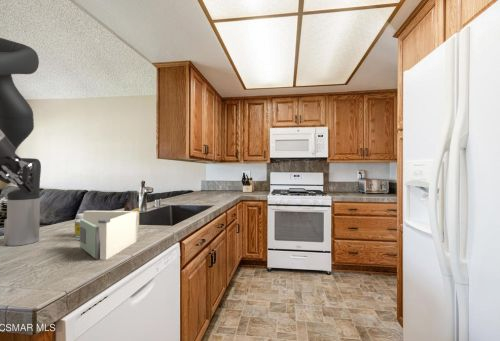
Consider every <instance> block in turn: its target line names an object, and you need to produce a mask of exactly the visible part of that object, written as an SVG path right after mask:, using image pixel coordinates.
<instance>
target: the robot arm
mask: <svg viewBox="0 0 500 341" xmlns="http://www.w3.org/2000/svg"><path fill="white" fill-rule="evenodd" d="M39 60H40V59H39V55H38V53H37V52H36V50H35V49H34V48H32V47H31V46H29V45H27V44H24V43H20V42H16V41H14V40H9V39H6V38H3V37H0V181H1V182H3V183H4V184H7V185H8V184H13V185H14V186H17V188H19V189H15V190H12V191H11V190H10V191H9V192H7V195H6V196H7V198H6V219H4V222H3V223H4V225H3V226H4V227H3V228H4V229H3V230H4V231H3V234H4V236H3V244H4V245H7V246H11V247H13V246H23V245H24V246H26V245H30V244H34V243H37V242H38V241H40V212H41V211H40V208H41V207H40V206H41V205H40V203H41V202H40V201H41V200H40V198H41V194H40V193H41V192H40V186H41V185H40V184H41V175H42V174H41V173H42V172H41V171H42V163H41V161H40V160H39V159H38V158H34V157H33V158H28V157H20V156H18V155H17V153H16V151H17V150H18V148H19V147H20V146H21V144H22V143H23V142H25V140H26V139H27V138H28V137H29V136H30V135H31V134H32V132H34V129H35V128H34V127H35V125H34V124H35V123H34V122H35V121H34V120H35V119H34V111H33V108H32V107H31V105H30V104H29V103H28V101H27V100H26V99H25V97H24V96H23V94H22V93H21V91H19V89H18V88H17V87H16V84H15V82H14V80H13V76H12V75H32V74H34V73H35V72H36V71H37V70H38V68H39V64H40V61H39Z"/></svg>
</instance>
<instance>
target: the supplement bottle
mask: <svg viewBox="0 0 500 341" xmlns="http://www.w3.org/2000/svg"><path fill="white" fill-rule="evenodd" d="M81 219H83V213H77V214H76V219H75V220H74V237H75V238H78V239H80V220H81Z"/></svg>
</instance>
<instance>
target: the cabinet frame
mask: <svg viewBox="0 0 500 341" xmlns="http://www.w3.org/2000/svg"><path fill="white" fill-rule="evenodd" d="M83 219H84V220H86V221H88V222H90V223H92V224H94V225H96V226H98V227H99V242H100V243H99V260H103V261H105V260H106V261H107V260H109V259H110V258H111V257H113V256H115V255H117V254H118V253H120V252H122V251H123V250H124V249H127V248H128V247H130V246H131V245H132V244H135V243H137V242H138V241H139V231H138V211H124V210H84V211H83Z"/></svg>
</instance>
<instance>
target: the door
mask: <svg viewBox="0 0 500 341" xmlns="http://www.w3.org/2000/svg"><path fill="white" fill-rule="evenodd" d="M99 242H100V241H99V227H98V226H96V225H94V224H92V223H90V222H88V221H86V220H84V219H81V220H80V238H79V247H80V248H81V249H83V251H85V252H86V253H88V254H89V255H90V256H91V257H93V258H94V259H99V258H100V243H99Z"/></svg>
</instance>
